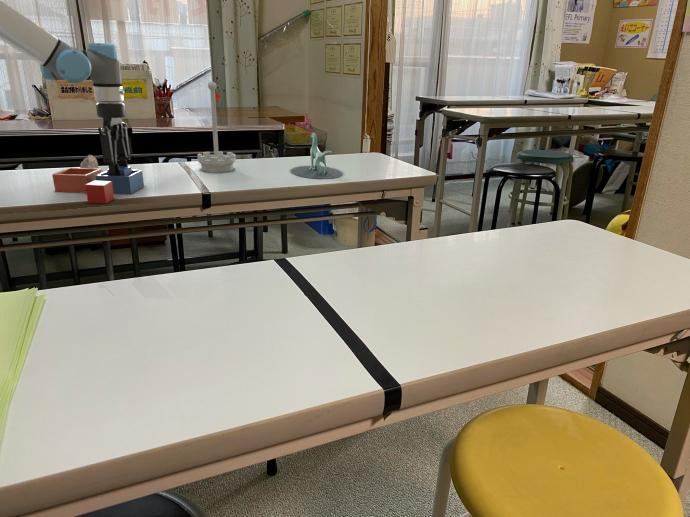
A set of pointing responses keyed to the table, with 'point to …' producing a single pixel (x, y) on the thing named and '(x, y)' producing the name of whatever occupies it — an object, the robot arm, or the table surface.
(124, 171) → the blue block
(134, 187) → the blue bin
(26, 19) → the robot arm
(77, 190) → the terracotta bin
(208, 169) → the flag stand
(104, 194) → the red block
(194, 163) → the table surface
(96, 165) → the rock
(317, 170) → the dinosaur
